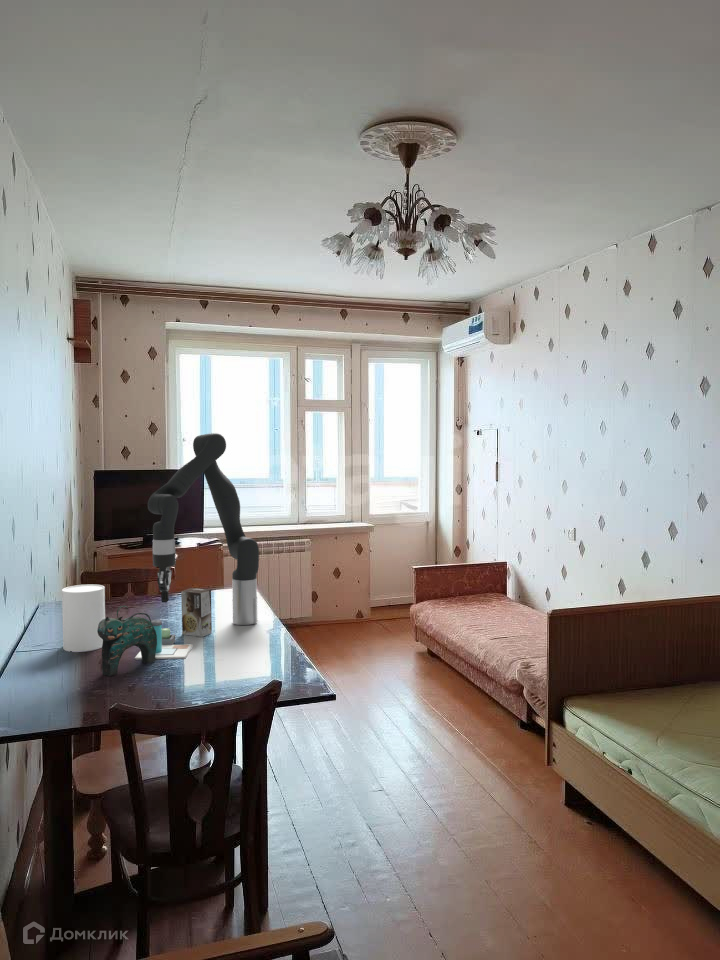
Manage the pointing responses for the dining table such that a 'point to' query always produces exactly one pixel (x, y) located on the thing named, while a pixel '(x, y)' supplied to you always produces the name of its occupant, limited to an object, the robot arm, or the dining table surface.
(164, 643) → the button housing
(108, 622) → the ceramic cat
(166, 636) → the button
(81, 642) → the canister
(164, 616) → the dining table surface
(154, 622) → the teal capped bottle
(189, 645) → the sheet
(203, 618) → the coffee box
